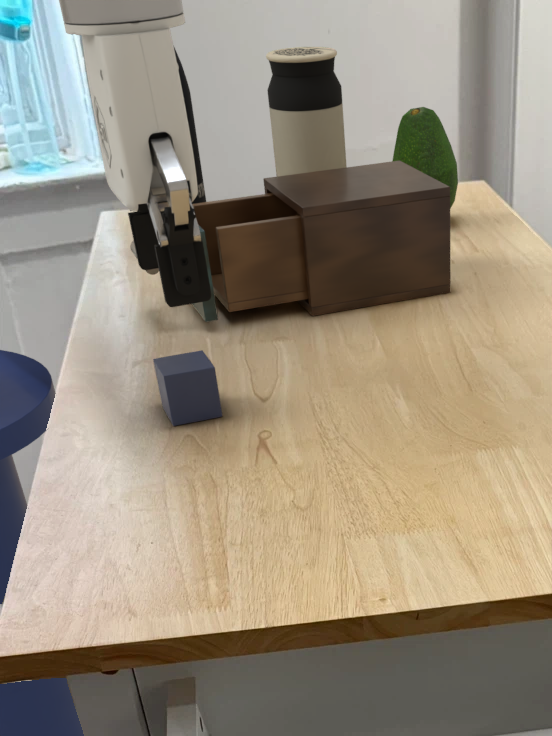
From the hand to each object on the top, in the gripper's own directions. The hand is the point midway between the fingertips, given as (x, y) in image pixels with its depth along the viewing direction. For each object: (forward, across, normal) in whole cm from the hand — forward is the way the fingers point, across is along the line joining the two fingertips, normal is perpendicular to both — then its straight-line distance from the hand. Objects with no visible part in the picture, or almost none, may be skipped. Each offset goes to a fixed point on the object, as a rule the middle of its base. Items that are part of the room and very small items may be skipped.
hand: (174, 283), depth 75 cm
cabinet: (+10, -24, +22) cm, 34 cm away
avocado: (+10, -42, +38) cm, 57 cm away
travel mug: (+10, -44, +24) cm, 51 cm away
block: (+10, 0, 0) cm, 10 cm away
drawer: (+9, -24, +10) cm, 27 cm away
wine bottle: (+10, -52, +10) cm, 54 cm away
